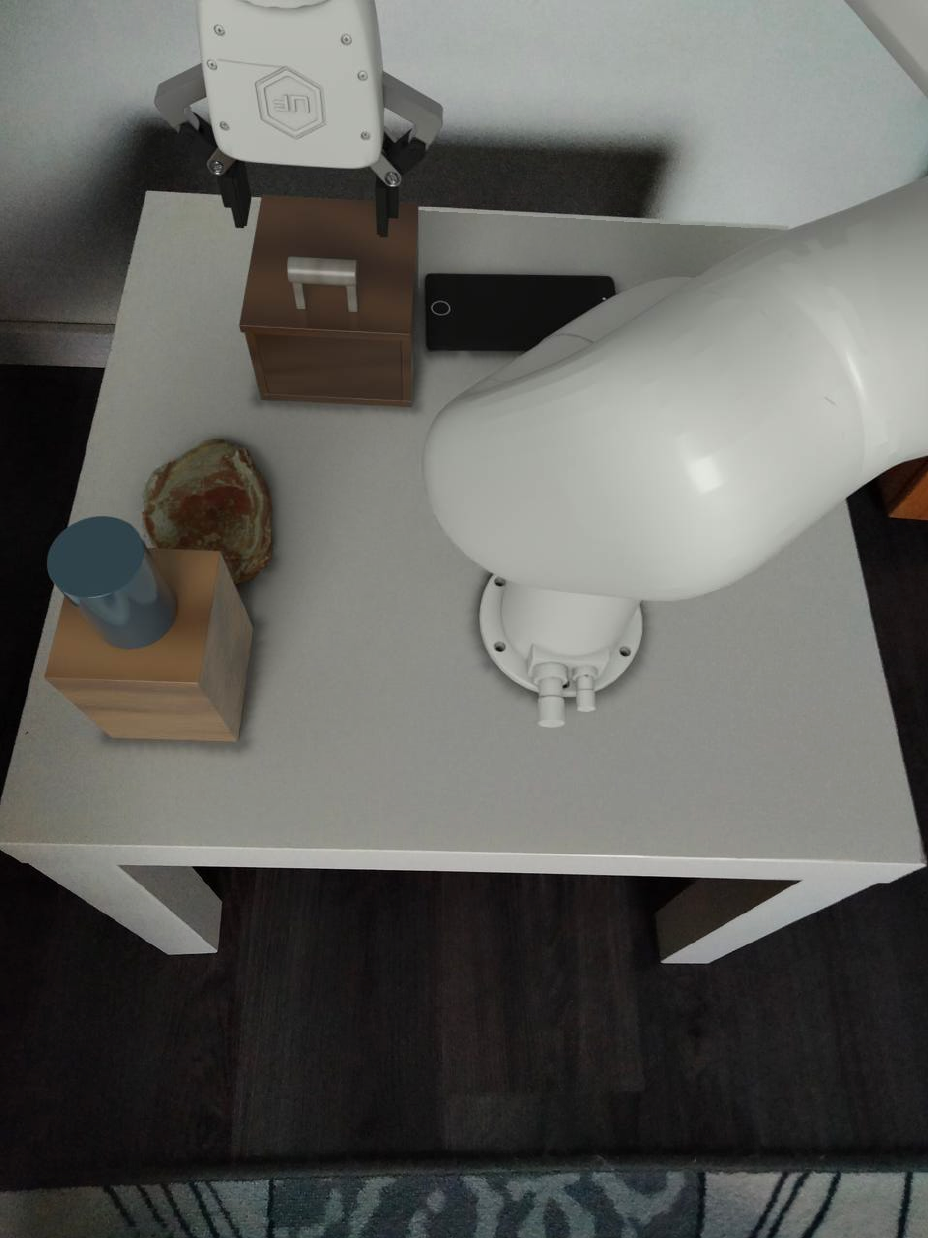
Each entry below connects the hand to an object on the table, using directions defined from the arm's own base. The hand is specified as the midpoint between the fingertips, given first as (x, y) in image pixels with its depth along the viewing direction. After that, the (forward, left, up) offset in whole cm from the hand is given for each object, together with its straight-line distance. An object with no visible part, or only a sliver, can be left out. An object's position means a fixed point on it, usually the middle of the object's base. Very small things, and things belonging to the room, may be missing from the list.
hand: (314, 218), depth 58 cm
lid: (+5, 0, -9) cm, 10 cm away
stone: (-14, +9, -18) cm, 24 cm away
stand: (-28, +9, -18) cm, 34 cm away
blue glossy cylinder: (-28, +9, -6) cm, 30 cm away
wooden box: (+5, 0, -18) cm, 18 cm away
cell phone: (+9, -17, -18) cm, 26 cm away
